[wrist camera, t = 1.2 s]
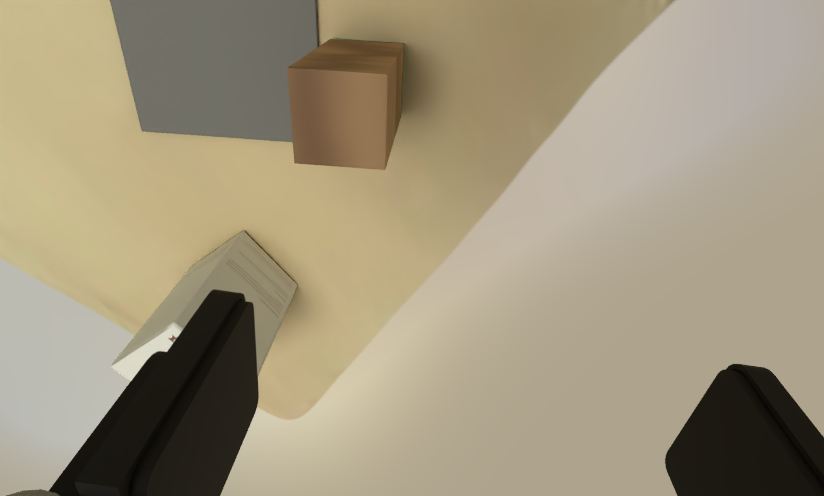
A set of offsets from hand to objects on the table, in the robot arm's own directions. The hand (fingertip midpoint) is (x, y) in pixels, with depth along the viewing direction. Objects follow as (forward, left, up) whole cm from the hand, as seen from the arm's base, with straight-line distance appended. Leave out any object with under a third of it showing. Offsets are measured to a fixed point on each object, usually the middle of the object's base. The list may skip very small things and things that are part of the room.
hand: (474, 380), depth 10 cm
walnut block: (+5, -4, -29) cm, 29 cm away
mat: (+12, -12, -28) cm, 33 cm away
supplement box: (+26, +1, -29) cm, 38 cm away
